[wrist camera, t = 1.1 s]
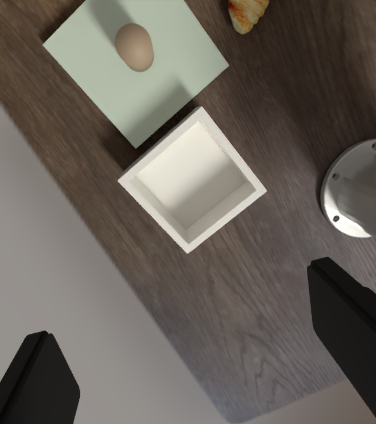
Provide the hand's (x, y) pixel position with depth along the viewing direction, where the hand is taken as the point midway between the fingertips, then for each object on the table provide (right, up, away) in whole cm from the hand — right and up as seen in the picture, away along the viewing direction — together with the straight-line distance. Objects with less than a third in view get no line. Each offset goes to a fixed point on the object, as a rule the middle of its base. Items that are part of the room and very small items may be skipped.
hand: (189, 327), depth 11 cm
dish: (0, +8, +25) cm, 26 cm away
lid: (-5, +20, +20) cm, 29 cm away
